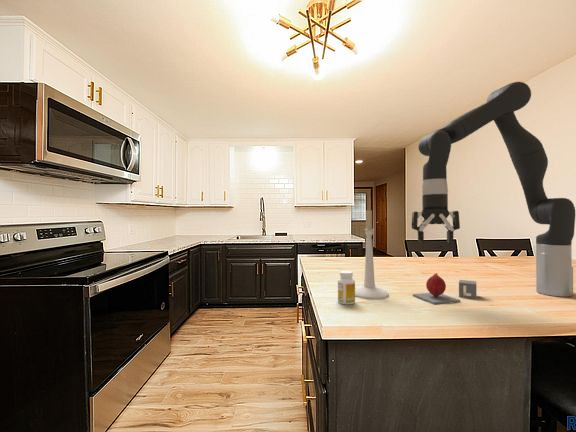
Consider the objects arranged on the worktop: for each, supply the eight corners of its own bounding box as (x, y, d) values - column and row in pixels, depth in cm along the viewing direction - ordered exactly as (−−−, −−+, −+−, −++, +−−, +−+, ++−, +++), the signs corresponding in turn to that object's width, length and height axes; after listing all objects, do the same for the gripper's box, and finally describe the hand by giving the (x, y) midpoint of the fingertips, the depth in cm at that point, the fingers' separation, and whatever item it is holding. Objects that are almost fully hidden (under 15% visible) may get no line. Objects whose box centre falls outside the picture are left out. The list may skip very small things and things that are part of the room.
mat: (437, 293, 104) (437, 292, 104) (460, 301, 94) (460, 300, 94) (412, 295, 101) (412, 294, 101) (433, 304, 92) (433, 302, 92)
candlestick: (370, 301, 95) (370, 208, 95) (343, 292, 106) (342, 209, 106) (396, 295, 102) (396, 208, 102) (368, 287, 113) (367, 209, 113)
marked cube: (459, 293, 104) (459, 279, 104) (476, 295, 101) (476, 281, 101) (458, 297, 100) (458, 282, 100) (476, 299, 97) (476, 284, 97)
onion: (448, 299, 94) (448, 274, 94) (429, 299, 95) (428, 274, 95) (442, 295, 100) (442, 271, 100) (424, 294, 101) (424, 270, 101)
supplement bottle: (356, 301, 96) (356, 271, 96) (353, 305, 91) (352, 274, 91) (340, 299, 98) (340, 269, 98) (335, 303, 93) (335, 272, 93)
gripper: (453, 193, 100) (454, 241, 100) (409, 194, 102) (409, 241, 102) (462, 192, 93) (463, 243, 93) (414, 193, 95) (415, 243, 95)
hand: (435, 242), depth 98 cm, fingers open, 8 cm apart
